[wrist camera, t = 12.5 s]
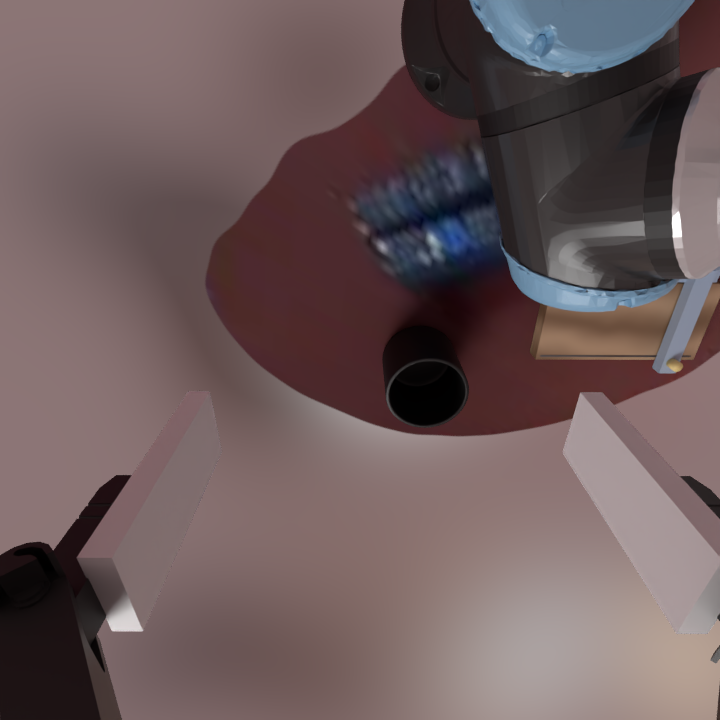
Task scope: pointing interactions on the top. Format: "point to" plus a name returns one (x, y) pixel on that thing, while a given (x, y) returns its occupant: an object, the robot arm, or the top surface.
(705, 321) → the board
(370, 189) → the top surface
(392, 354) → the mug
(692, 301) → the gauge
